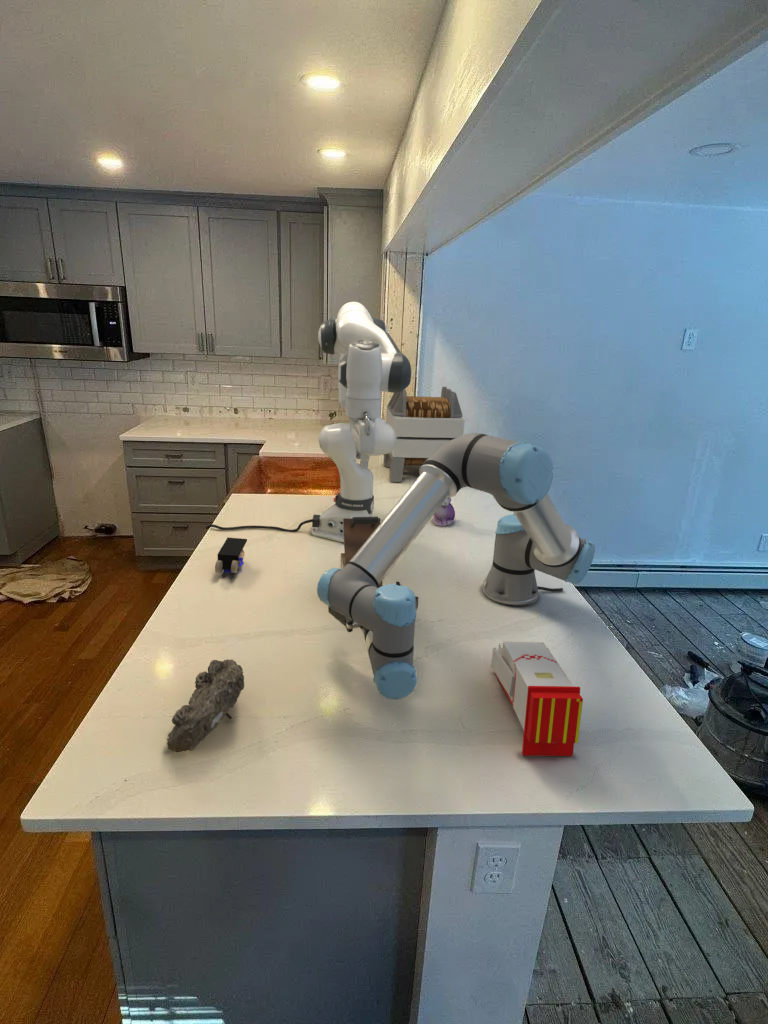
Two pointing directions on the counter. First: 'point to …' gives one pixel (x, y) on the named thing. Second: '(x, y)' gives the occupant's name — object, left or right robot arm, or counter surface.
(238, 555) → the black wheeled toy vehicle
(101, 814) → the counter surface
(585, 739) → the counter surface
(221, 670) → the fossil
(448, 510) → the figurine
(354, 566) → the right robot arm
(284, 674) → the counter surface
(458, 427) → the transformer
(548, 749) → the toy
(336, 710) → the counter surface
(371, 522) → the lid
